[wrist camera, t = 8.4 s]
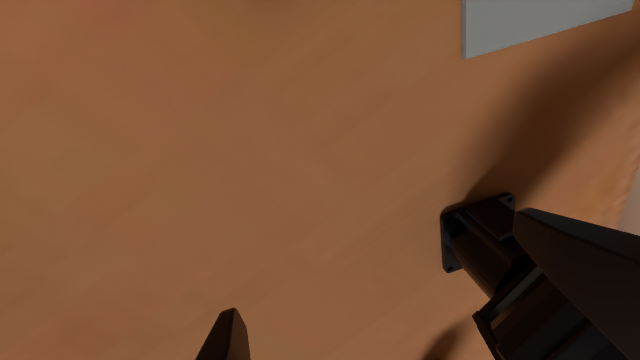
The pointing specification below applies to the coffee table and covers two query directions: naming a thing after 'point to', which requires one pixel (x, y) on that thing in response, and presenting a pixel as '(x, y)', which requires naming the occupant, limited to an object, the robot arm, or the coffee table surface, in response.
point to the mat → (526, 20)
